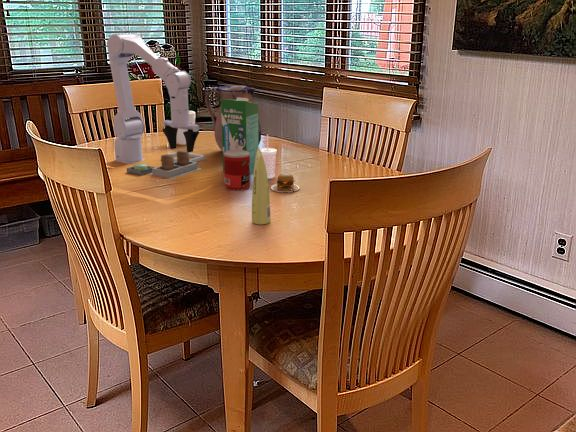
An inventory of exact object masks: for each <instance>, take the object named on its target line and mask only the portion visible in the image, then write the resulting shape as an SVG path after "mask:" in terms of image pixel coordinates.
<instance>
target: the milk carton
mask: <svg viewBox="0 0 576 432" xmlns="http://www.w3.org/2000/svg"><path fill="white" fill-rule="evenodd" d="M220 106H221V116H222V148H223V151H222V170H223V171H224V152H226V151H229V150H244V151H248V152H249V153H250V175H251V174H254V166H255V159H256V153H257V150H258V146H259V145H260V144H259V128H258V118H259V103H255V102H254V103H252V102H248V99H247V98H237V100H230V99H222V98H221V99H220ZM259 147H260V146H259Z"/></svg>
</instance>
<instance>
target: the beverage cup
mask: <svg viewBox="0 0 576 432" xmlns="http://www.w3.org/2000/svg"><path fill="white" fill-rule="evenodd" d="M260 150H261V152H262V156H263V159H264V162H265V166H266V171H267V178H268V179H274V178H275V175H276V163H277V162H276V159H277V151H278V149H276V148H273V147H272V148H271V147H269V134H266V147H263V148H260ZM273 177H274V178H273Z"/></svg>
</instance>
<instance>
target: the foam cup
mask: <svg viewBox="0 0 576 432" xmlns="http://www.w3.org/2000/svg"><path fill="white" fill-rule="evenodd" d="M196 118H197V117H196V112H195V111H193V110H189V122H190V123H193V124H196ZM185 131H188V130H184V129H178V131H177V137H176V144H177V145H182V146H184V145H185V146H186V139H185V136H184V134H183V132H185Z"/></svg>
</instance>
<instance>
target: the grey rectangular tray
mask: <svg viewBox="0 0 576 432" xmlns="http://www.w3.org/2000/svg"><path fill="white" fill-rule="evenodd" d="M154 167H155V168H152V172H151V173H149V175H150V176H151V175H152V176H155V177H161V178H165V179H170V180H173V179H176V178H178V177H181V176H184V175H187V174H190V173H194V172H197V171H199V170H200V171H201V170H202V168H201V167H199V162H192V161H189V165H186V166H179V165H177V161H176V162H174V169H173V170H169V171H166V170H162V165H159V166H157V167H156V166H154Z"/></svg>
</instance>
